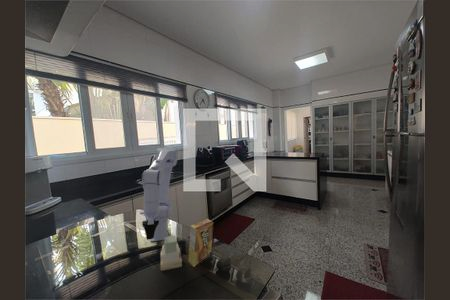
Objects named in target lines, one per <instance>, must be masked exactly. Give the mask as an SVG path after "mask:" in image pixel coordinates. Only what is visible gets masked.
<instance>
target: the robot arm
mask: <svg viewBox="0 0 450 300" xmlns="http://www.w3.org/2000/svg"><path fill="white" fill-rule="evenodd" d="M178 155H179V150H178V149H177V148H169V147H157V150H156V158H157V159H155V160H153V162H152V163H151V165H150V167H149V168H148V169H146V170H145V169H144V171H143V173H142V176H141V182H142V189H143V209H142V210H139V215H143V216H144V218H145V220H142V222H141V223H142V224H141V225H142V228H143V229H144V231H145V237H146V240H149V242H158V241H164V238H165V237H170V235H169V230H168V227H169V225H168V224H169V219H170V218H171V217H172V212H173V202H172V200H170V199H169V197H168V196H169V190H170V189H169V188H170V182H171V176H172V175H171V174H172V170H173V168H174V167H175V166H176V165H177V164H178ZM167 230H168V232H167Z"/></svg>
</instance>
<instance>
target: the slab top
mask: <svg viewBox="0 0 450 300" xmlns="http://www.w3.org/2000/svg"><path fill="white" fill-rule="evenodd" d="M179 248H180V247H179V242H177V246H176V251H175V252H171V253H167V254H165V250H164V244H162V247H161V249H162V250H161V251H162V263H165V262H170V261H176V260H179Z"/></svg>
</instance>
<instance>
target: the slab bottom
mask: <svg viewBox="0 0 450 300" xmlns="http://www.w3.org/2000/svg"><path fill="white" fill-rule="evenodd" d="M178 248H179V260H176V261H170V262H165V263H162V250H161V251H160V257H159V258H160V271H167V270H172V269H177V268H180V267H181V268H182V266H183V259H182V255H181V254H182V253H181V248H180V247H178Z"/></svg>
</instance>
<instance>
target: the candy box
mask: <svg viewBox="0 0 450 300" xmlns="http://www.w3.org/2000/svg"><path fill="white" fill-rule="evenodd" d="M213 231H214V222H213V221H212V220H210V219H209V218H206V219H204V220H201V221H199V222H196V223H193V224H191V225H190V232H189V245H188V247H189V248H188V263H189V264H190V265H191V266H192V267H193V268H194V267H196V265H197V264H198V263H199V262H200V261H201V260H203V259H204V258H205V257H206V256H207V255H208V254H209V253H210V252H211V253H212V248H213V247H212V244H213V233H214V232H213ZM198 265H199V264H198ZM198 265H197V266H198Z"/></svg>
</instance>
